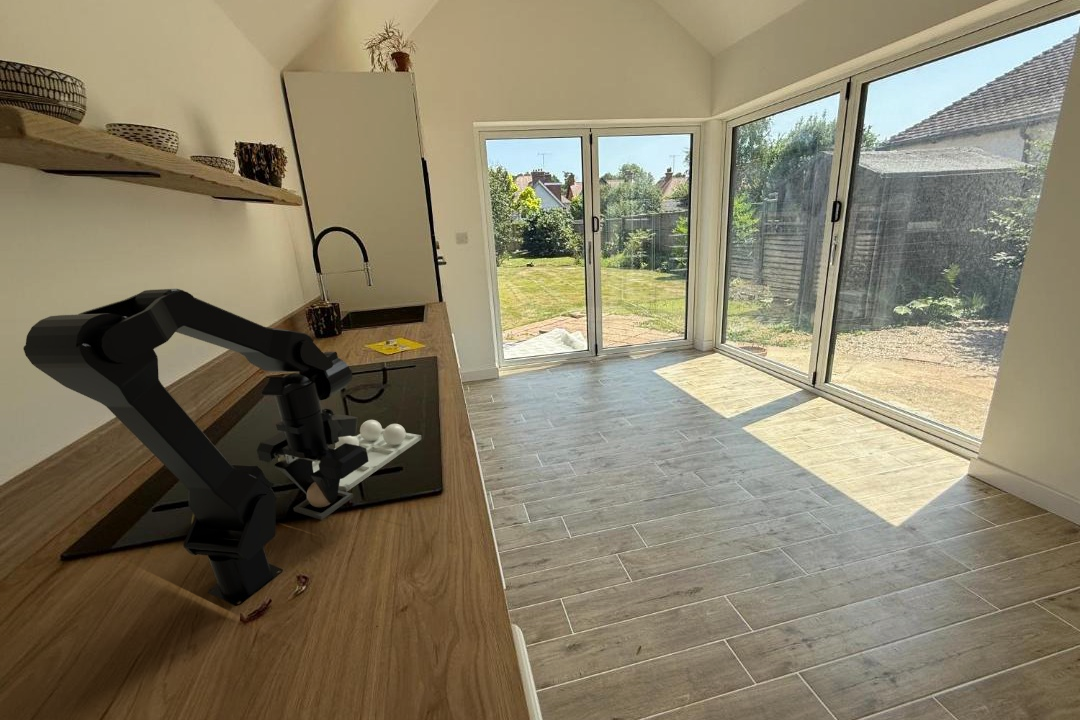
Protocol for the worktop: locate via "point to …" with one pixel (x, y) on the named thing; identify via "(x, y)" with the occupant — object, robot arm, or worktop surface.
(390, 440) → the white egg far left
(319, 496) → the brown egg
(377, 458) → the egg tray
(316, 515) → the gray rectangular frame
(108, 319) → the robot arm
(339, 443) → the white egg mid
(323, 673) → the worktop surface
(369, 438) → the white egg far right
